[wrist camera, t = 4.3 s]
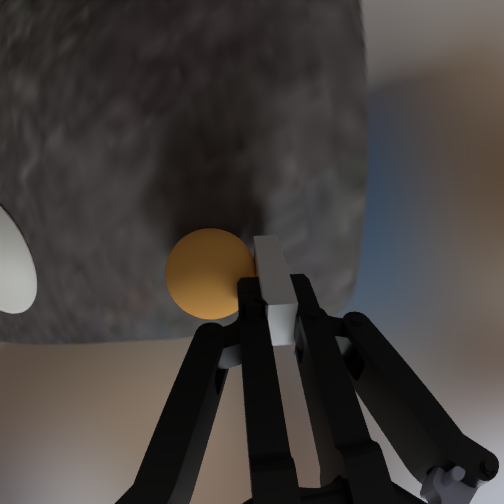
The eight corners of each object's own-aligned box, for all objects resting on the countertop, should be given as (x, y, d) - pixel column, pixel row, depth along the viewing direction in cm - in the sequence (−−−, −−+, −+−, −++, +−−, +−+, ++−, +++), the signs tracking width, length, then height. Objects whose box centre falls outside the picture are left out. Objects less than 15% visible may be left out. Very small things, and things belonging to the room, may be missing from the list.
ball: (170, 214, 19) (147, 258, 14) (254, 213, 19) (259, 258, 14) (179, 283, 22) (165, 336, 17) (253, 283, 22) (256, 338, 17)
